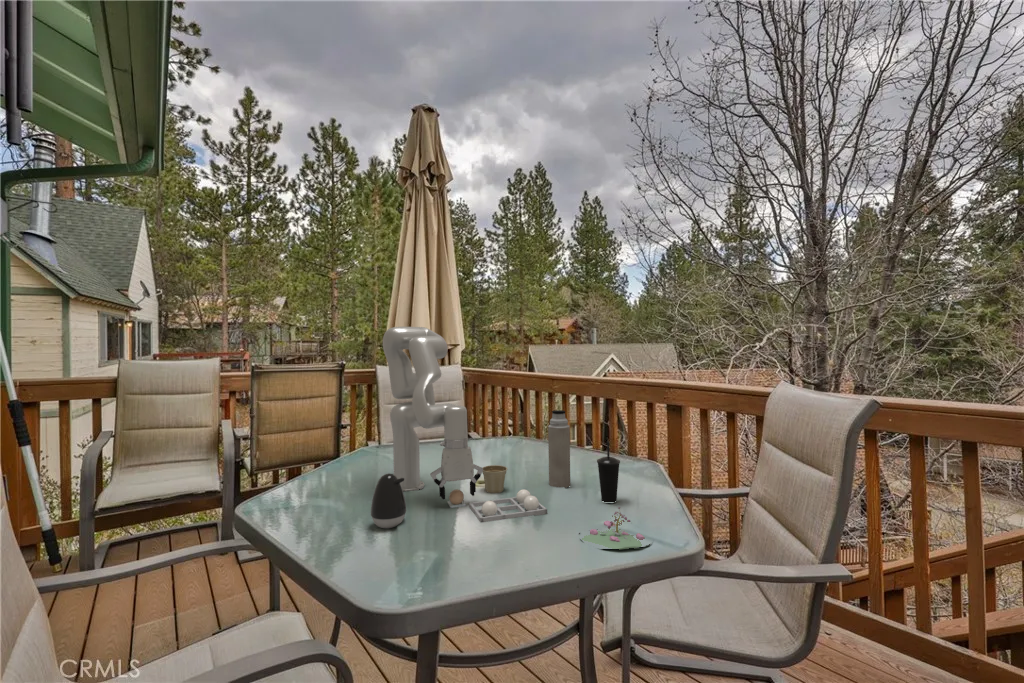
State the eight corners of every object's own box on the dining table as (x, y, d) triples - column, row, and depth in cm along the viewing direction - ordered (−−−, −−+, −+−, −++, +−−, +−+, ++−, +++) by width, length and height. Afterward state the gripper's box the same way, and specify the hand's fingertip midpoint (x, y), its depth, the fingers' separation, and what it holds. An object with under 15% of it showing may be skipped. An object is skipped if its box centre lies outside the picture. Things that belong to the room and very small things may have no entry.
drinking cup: (607, 506, 152) (606, 444, 152) (592, 500, 159) (591, 440, 159) (625, 502, 156) (624, 442, 156) (610, 496, 163) (609, 438, 163)
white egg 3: (526, 514, 144) (526, 499, 144) (521, 509, 149) (521, 494, 149) (541, 512, 146) (541, 497, 146) (535, 507, 151) (535, 492, 151)
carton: (480, 525, 138) (480, 518, 138) (469, 509, 152) (469, 502, 152) (547, 515, 145) (547, 509, 145) (530, 501, 159) (530, 495, 159)
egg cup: (448, 511, 150) (448, 507, 150) (445, 505, 156) (445, 500, 156) (468, 509, 152) (468, 504, 152) (464, 502, 158) (464, 498, 158)
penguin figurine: (394, 534, 133) (393, 480, 133) (363, 529, 136) (362, 476, 136) (413, 521, 142) (413, 470, 142) (384, 517, 146) (384, 468, 146)
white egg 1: (484, 520, 140) (483, 504, 140) (479, 515, 145) (479, 499, 145) (499, 518, 142) (499, 502, 142) (494, 513, 146) (494, 497, 146)
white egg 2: (519, 507, 151) (519, 492, 151) (514, 502, 155) (514, 488, 155) (533, 505, 152) (533, 490, 152) (528, 501, 157) (527, 486, 157)
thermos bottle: (555, 481, 181) (554, 408, 181) (574, 484, 177) (572, 409, 177) (545, 486, 174) (544, 411, 175) (564, 490, 170) (563, 412, 170)
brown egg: (450, 507, 151) (450, 492, 151) (447, 503, 155) (447, 488, 155) (465, 505, 152) (465, 491, 152) (462, 501, 157) (462, 486, 157)
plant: (570, 518, 144) (570, 489, 144) (638, 517, 144) (637, 487, 144) (584, 555, 119) (584, 519, 119) (666, 553, 119) (665, 517, 119)
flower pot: (509, 488, 173) (508, 465, 173) (506, 497, 163) (506, 472, 163) (483, 488, 174) (483, 464, 174) (479, 496, 164) (479, 471, 164)
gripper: (431, 448, 148) (433, 503, 147) (484, 443, 153) (486, 496, 153) (427, 444, 155) (429, 496, 154) (478, 439, 160) (480, 490, 160)
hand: (457, 496), depth 153 cm, fingers open, 9 cm apart
